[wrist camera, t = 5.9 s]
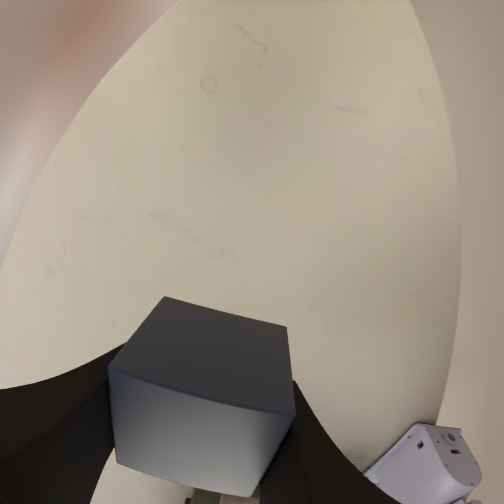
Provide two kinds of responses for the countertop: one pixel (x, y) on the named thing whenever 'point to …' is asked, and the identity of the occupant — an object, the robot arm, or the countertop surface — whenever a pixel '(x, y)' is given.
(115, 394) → the block
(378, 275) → the countertop surface
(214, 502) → the drawer
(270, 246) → the countertop surface
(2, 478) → the robot arm
